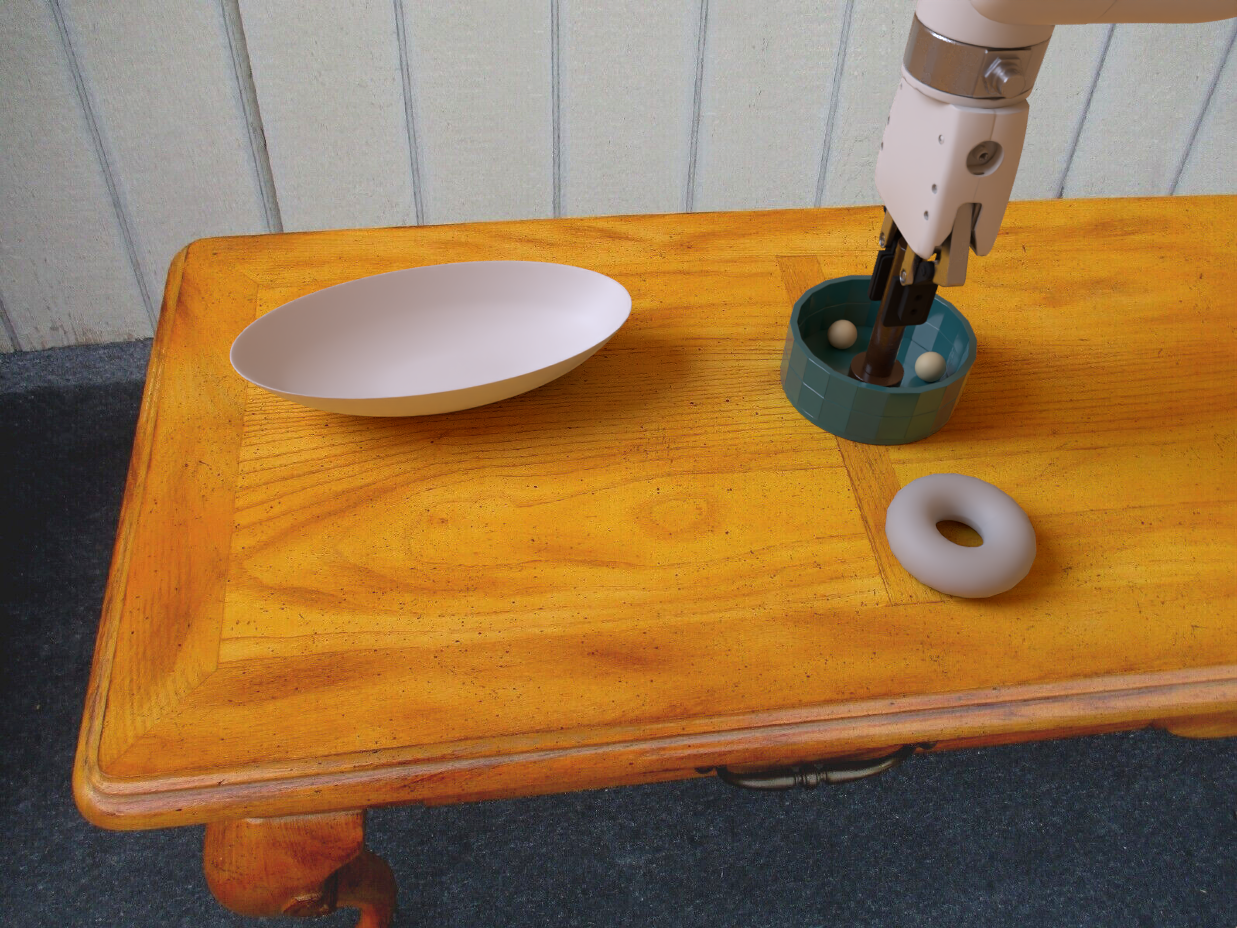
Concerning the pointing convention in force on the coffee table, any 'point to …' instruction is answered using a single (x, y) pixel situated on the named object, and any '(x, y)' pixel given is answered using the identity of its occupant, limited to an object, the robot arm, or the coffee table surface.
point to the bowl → (432, 337)
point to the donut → (947, 562)
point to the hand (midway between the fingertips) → (895, 308)
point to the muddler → (883, 340)
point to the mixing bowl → (861, 407)
